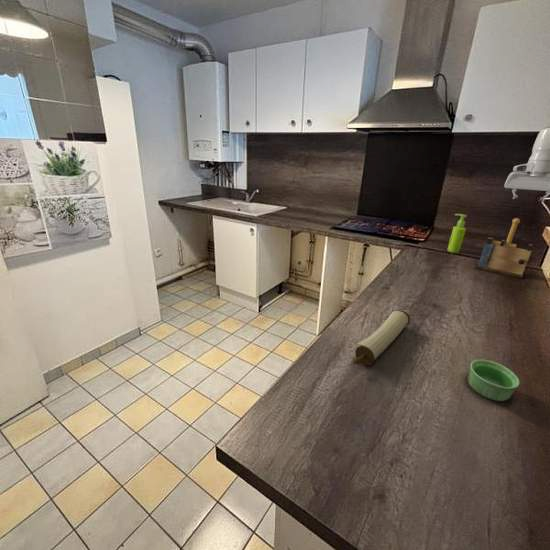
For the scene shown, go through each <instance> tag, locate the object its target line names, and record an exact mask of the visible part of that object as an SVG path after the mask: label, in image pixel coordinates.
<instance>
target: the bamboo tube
mask: <svg viewBox="0 0 550 550" xmlns="http://www.w3.org/2000/svg"><path fill="white" fill-rule="evenodd" d="M410 322H411V318H410V315H409V314H408V313H407V312H406V311H404V310H395V311H394V310H393V311H392V312H391V313H390V315H389V316H388V317H387V318H386V320H385V321H384V322H383V323H382V325H381V326H380V327H379V328H377V329H376V330H375V331H374V332H373V333H372V334H371V335H369V336H368V337H365V338H364V339H363V340H361V341H359V342H357V345H359V346H357V347H356V349H355V351H354V352H355V357H356V358H354V360H353V363H354V364H355V365H358V364H360V363H361V364H363V365H366V366H370V365H372V364H374V362H375V360H376V359H377V358H378V357H379V356H380V355H381V354H382V353H383V352H384V351H385V350H387V348H388V347H389V346H390V345H391V343H393V342H394V341H395V339H396V338H397V337H398V336H399V335H400V333H401V332H402V331H403V330H404V328H405V327H406V326H409V324H410Z"/></svg>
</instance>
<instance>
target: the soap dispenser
mask: <svg viewBox="0 0 550 550" xmlns="http://www.w3.org/2000/svg"><path fill="white" fill-rule="evenodd" d="M454 216H460V218H459V219H458V220H457V223H456V226H455V225H454V226H453V227H452V231H451V234H450V237H449V241H448V245H447V248H446V251H447V252H450V253H454V254H458V253H460V251H461V247H462V244H463V240H464V237H465V234H466V230H467V228H466V227H465V224H466V221H465V218H467V217H468V216H467V214H463V213H454Z"/></svg>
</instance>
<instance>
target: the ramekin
mask: <svg viewBox="0 0 550 550" xmlns="http://www.w3.org/2000/svg"><path fill="white" fill-rule="evenodd" d="M467 381H468V384H469V386H470V388H472V389H473V390H474V391H475V392H476V393H477V394H479V395H481V396H482V397H485V398H486V399H489V400H493V401H496V402H504V401H508V400H510V398H511V397H512V395H513V394H514V392H515V391H516V389H517V388H518V387H519V386H520V383H521V382H520V379H519V377H518V376H517V374H515V373H514V371H512V370H511V369H510V368H507V367H506V366H504V365H502V364H501V363H498V362H495V361H492V360H487V359H475V360H472V361H471V363H470V365H469V373H468V377H467Z"/></svg>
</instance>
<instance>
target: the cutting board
mask: <svg viewBox="0 0 550 550" xmlns="http://www.w3.org/2000/svg"><path fill="white" fill-rule="evenodd" d="M492 241H494V238H493V237H489V236H488V237H487V240H486V242H485V243H484V246H483V249H482V252H481V256H480V258H479V262H478V263H477V265H476V268H475V269H476V270H481V271H484V272H489V273H494V274H499V275H502V276H507V277H512V278H517V279H521V280H522V279H523V278H524V272H525V270H526V266H527V264H528V262H529V259H530V257H531V254H532V252H533V251H532V249H533V247H534V245H533V244H532V243H529V244H528V245H527V248H526V249H525V248H519V247H516V248H515V247H509V246H503V245H504V243H506V239H501V240H500V242H501V244H500V245H498V244H492Z"/></svg>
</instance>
